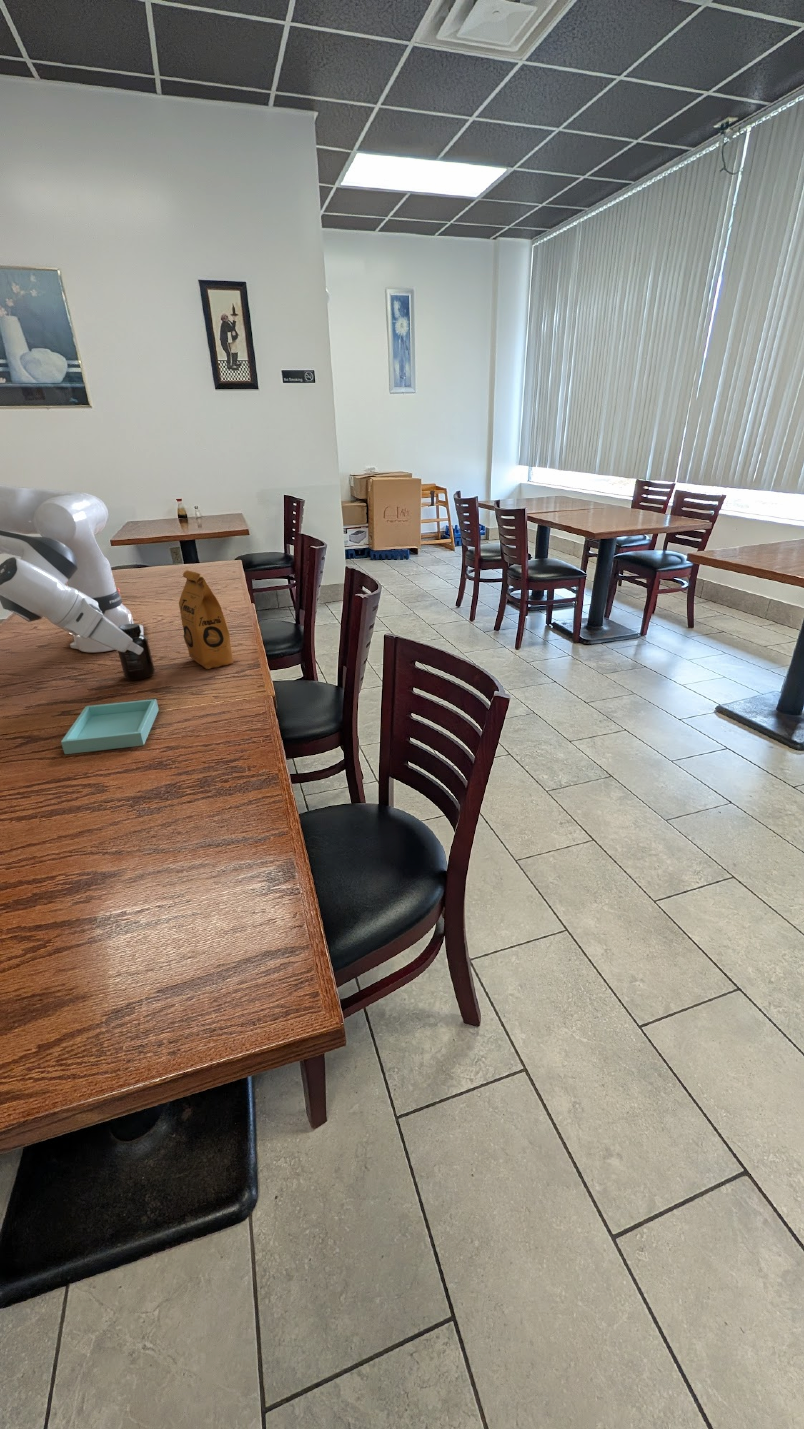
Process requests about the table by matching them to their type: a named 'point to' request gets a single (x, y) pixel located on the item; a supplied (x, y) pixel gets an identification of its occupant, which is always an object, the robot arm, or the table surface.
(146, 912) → the table surface
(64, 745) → the serving tray
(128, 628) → the supplement bottle
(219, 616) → the coffee package
